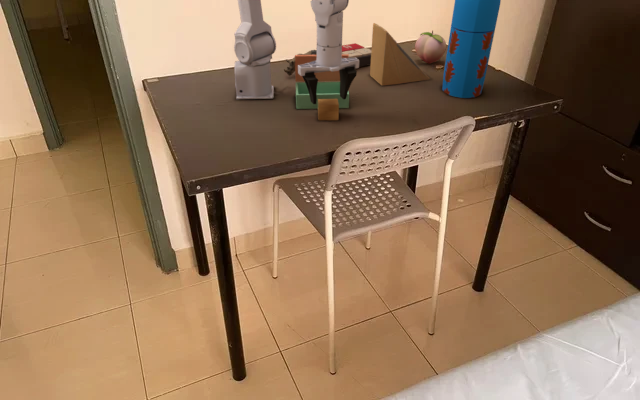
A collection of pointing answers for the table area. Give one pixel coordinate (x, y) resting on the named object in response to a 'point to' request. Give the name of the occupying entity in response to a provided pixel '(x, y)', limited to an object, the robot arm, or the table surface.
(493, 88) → the table surface
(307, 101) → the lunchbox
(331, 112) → the block
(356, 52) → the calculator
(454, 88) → the thermos
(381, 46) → the sandwich container
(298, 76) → the lid
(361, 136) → the table surface
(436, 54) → the decorative fruit
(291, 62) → the rhino figurine
